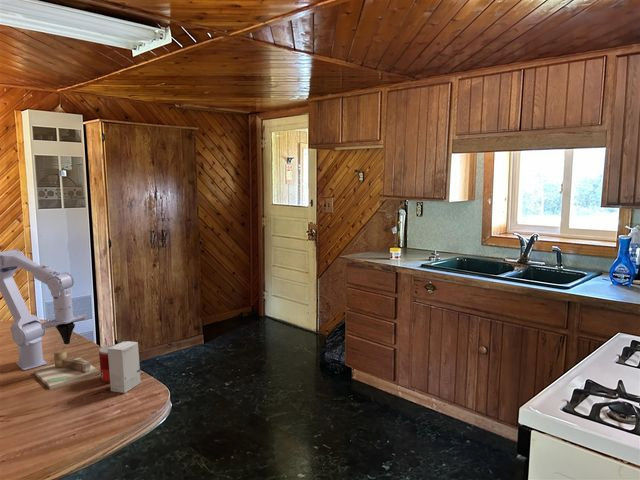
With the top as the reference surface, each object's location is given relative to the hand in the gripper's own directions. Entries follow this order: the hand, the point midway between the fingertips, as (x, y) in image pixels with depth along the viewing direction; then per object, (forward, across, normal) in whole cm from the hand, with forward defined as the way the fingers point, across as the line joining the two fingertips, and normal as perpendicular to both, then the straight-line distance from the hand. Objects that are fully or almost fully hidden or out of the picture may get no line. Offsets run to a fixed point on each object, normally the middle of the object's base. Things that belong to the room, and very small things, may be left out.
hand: (66, 343), depth 169 cm
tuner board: (+10, -2, -3) cm, 11 cm away
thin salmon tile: (+9, +3, -9) cm, 13 cm away
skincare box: (+10, +8, -29) cm, 32 cm away
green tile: (+9, -6, -9) cm, 14 cm away
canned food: (+10, +8, -19) cm, 23 cm away
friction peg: (+8, 0, -3) cm, 9 cm away
